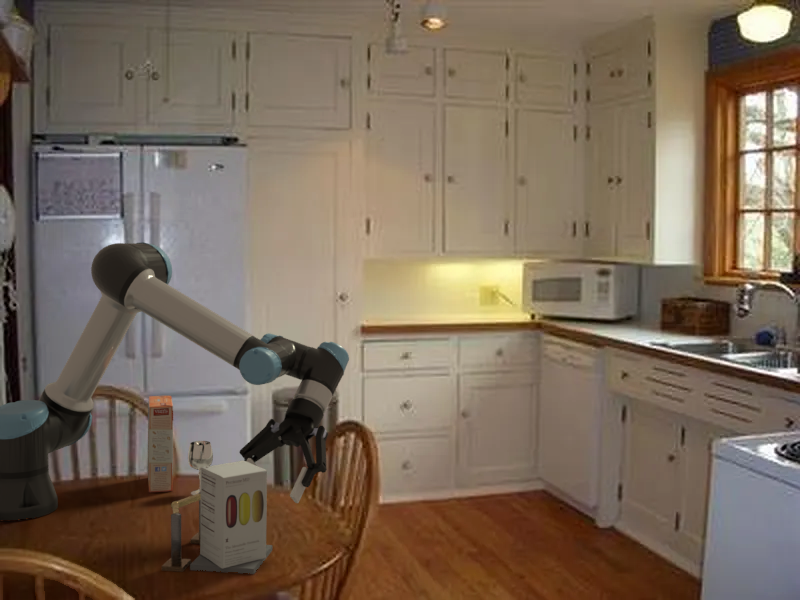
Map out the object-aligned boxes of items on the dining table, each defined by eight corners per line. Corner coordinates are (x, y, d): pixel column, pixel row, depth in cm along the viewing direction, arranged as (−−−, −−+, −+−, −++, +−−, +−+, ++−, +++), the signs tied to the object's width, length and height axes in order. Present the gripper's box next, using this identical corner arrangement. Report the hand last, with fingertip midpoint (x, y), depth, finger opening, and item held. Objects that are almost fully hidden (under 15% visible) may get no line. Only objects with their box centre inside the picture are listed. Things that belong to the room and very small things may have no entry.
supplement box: (221, 570, 152) (221, 477, 151) (198, 554, 160) (198, 466, 158) (268, 557, 158) (268, 469, 157) (244, 543, 166) (243, 458, 164)
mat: (190, 570, 155) (190, 564, 155) (213, 546, 167) (212, 541, 167) (253, 574, 153) (253, 568, 153) (272, 550, 165) (272, 545, 165)
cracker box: (174, 492, 202) (173, 405, 200) (148, 493, 200) (147, 406, 199) (172, 476, 215) (172, 394, 214) (148, 477, 214) (147, 395, 212)
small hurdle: (152, 569, 155) (151, 516, 154) (189, 535, 173) (189, 487, 172) (182, 571, 154) (182, 517, 153) (216, 537, 172) (216, 488, 171)
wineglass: (189, 489, 204) (189, 440, 203) (214, 489, 204) (214, 440, 204) (186, 496, 198) (186, 446, 197) (211, 496, 199) (211, 445, 198)
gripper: (365, 423, 177) (325, 513, 165) (268, 410, 189) (224, 494, 177) (352, 402, 172) (310, 494, 160) (253, 390, 184) (207, 475, 172)
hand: (265, 494), depth 168 cm, fingers open, 13 cm apart
